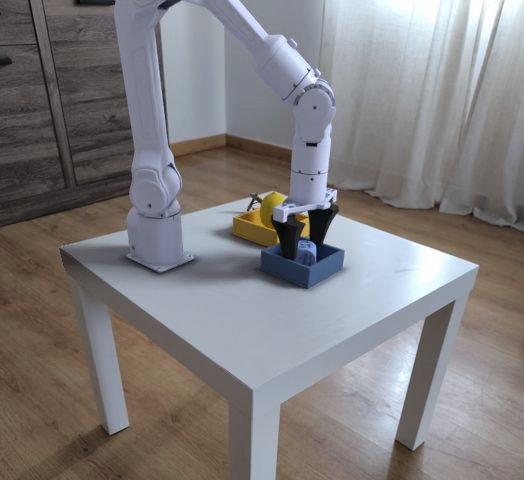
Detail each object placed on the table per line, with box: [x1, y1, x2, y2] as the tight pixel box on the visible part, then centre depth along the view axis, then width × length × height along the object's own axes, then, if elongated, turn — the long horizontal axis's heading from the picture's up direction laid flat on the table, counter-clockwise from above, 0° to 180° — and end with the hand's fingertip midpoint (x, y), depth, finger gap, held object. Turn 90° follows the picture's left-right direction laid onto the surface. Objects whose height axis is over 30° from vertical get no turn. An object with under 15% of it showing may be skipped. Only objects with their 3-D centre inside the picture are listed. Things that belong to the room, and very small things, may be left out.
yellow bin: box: [232, 207, 309, 248], centre depth 97 cm, size 11×11×4 cm
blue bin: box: [260, 236, 346, 289], centre depth 84 cm, size 10×10×4 cm
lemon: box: [259, 191, 286, 230], centre depth 95 cm, size 6×6×8 cm
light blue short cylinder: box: [294, 240, 316, 267], centre depth 83 cm, size 4×4×4 cm
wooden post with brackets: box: [246, 192, 263, 212], centre depth 106 cm, size 2×8×4 cm, turn 69°
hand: (302, 252), depth 83 cm, fingers open, 7 cm apart
